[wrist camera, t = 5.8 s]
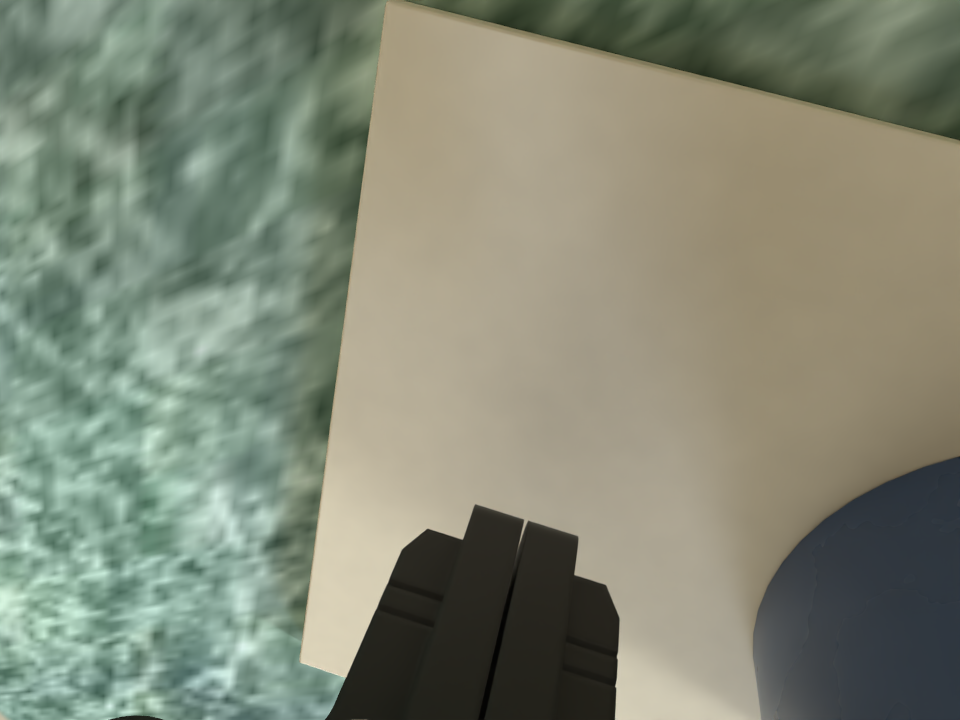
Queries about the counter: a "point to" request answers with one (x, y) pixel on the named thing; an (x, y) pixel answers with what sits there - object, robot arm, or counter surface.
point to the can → (869, 609)
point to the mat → (628, 336)
